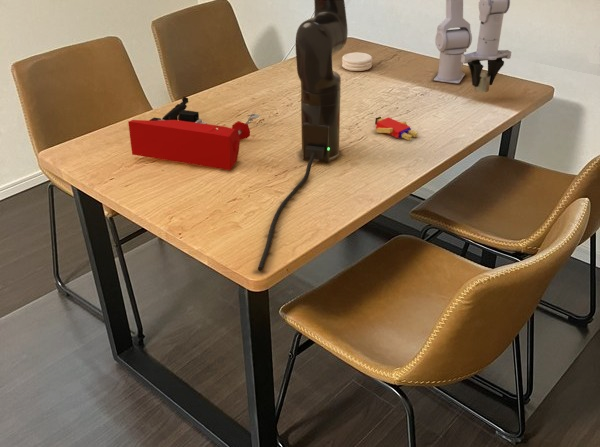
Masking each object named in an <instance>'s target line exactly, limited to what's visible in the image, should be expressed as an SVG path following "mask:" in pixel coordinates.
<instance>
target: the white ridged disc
mask: <svg viewBox="0 0 600 447" xmlns="http://www.w3.org/2000/svg"><path fill="white" fill-rule="evenodd" d="M341 60H342V61H341V66H342V68H343V69H345V70H347V71H349V72H350V71H351V72H363V71H368V70H370V69H371V68H372V67H373V56H372V55H371V54H369V53H365V52H347V53H345V54H344V55H343V56H342V57H341Z"/></svg>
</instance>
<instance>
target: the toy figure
mask: <svg viewBox="0 0 600 447" xmlns="http://www.w3.org/2000/svg"><path fill="white" fill-rule="evenodd" d="M374 125H375V129H376V130H375V131H376V133H377V134H378V133H379V134H388V135H390V136H392V137H394V138H396V139H399V138H400V139H402V138H403V139H405V140H408V141H410V140H412V137H413V138H416V137H418V132H417V131H415V130H413V129H412V127H411V126H410V125H408V124H407V121H398V120H395V119H393V118H391V117H389V116H388V117H386V118H383V117H382V116H377V117H375V121H374Z"/></svg>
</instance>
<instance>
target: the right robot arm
mask: <svg viewBox="0 0 600 447" xmlns="http://www.w3.org/2000/svg"><path fill="white" fill-rule="evenodd" d="M510 6H511V0H479V1H478V11H479V16H478V18H479V21H480V23H479V31H478V39H477V44H476V51H472V52H469V53H466V52H467V50H468V49H469V48H470V46H471V45H472V42H473V35H472V31H471V23H469V22H468V21H467V20H466V19H465V18H464V0H445V19H444V20H443V21H441V22H440V23H439V24H438V25H437V26H436V34H435V39H434V40H435V41H434V42H435V47H436V49H437V50H438V51H439V60H438V69H437V74H436V76H435V77H434V78H433V81H434V82H441V83H449V84H457V85H458V84H460V83H461V81H462V80H463V79H464V77H465V75H466V73H464V72H463V68H464V64H467V66H468V67H469V71H470V76H471V84H472V86H473V87H474V88H475V87H478V85H479V79H480V74H481V73H482V71H483V68H484V64H482V63H481V62H483V61H487V73H488V74H490V75H491V78H490V85H489V86H492V85H493V84H494V81H495V80H496V77H497V75H498V73H499V72H500V71H501V69H502V68H503V67H504V65H505V61H504V60H503V59H506V60H510V59H511V57H512V51H511V50H509V49H501V50H500V49H499V46H500V40H501V33H502V27H503V20H504V14H506V13H508V11H509V10H510Z"/></svg>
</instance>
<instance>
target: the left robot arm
mask: <svg viewBox="0 0 600 447" xmlns="http://www.w3.org/2000/svg"><path fill="white" fill-rule="evenodd" d="M313 1H314V2H313V3H314V9H313V10H314V12H313V14H314V15H313V16H312V17H311V18H308V19H306V20H304V21H303V22H301V24H300V25H299V26H298V27H297V30H296V34H295V59H296V60H295V62H296V72H297V76H298V78H299V81H300V95H301V96H300V116H301V117H300V118H301V120H300V121H301V124H300V125H301V130H300V131H301V153H300V154H301V156H302V158H303V159H302V160H303V161H308V162H307V165H306V168H305V169H306V170H305V173H304V176H303V178H302V179H301V180H300V181H299V183H298V184H296V186H295V187H294V188H293V190H291V191H290V193H289V194H288V195H287V196H286V197H285V198H284V200H282V202H281V203H280V205H279V206H278V208H277V210H276V211H275V213H274V216H273V218H272V220H271V224H270V226H269V230H268V235H267V239H266V243H265V246H264V249H263V252H262V255H261V258H260V261H259V264H258V266H257V270H258V271H259V272H262V271H263V270H264V267H265V264H266V262H267V259H268V256H269V254H270V250H271V246H272V242H273V237H274V233H275V229H276V227H277V223H278V220H279V218H280V216H281V214H282V212H283V210H284V208H285V207H286V206H287V204H288V203H289V202H290V201H291V199H292V198H293V197H294V196H295V195H296V194H297V192H298V191H299V190H300V189H301V188H302V187H303V186H304V185H305V184H306V182H307V181H308V179H309V176H310V174H311V170H312V165H313V163H314V162H315V163H324V164H328V163H330V162H332V161H334V160H337V159H338V158H339V157H340V154H341V153H340V152H341V150H340V132H341V131H340V130H341V125H340V124H341V89H342V88H341V87H342V85H341V84H342V78H341V75H340V73H339V72H337V71H335V70H334V69H333V56H335V55H336V54H338V53H340V52H341V51H342V50H343V49H344V48H345V46H346V44H347V41H348V36H349V34H348V33H349V32H348V31H349V30H348V19H347V12H346V3H345V0H313Z"/></svg>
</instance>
